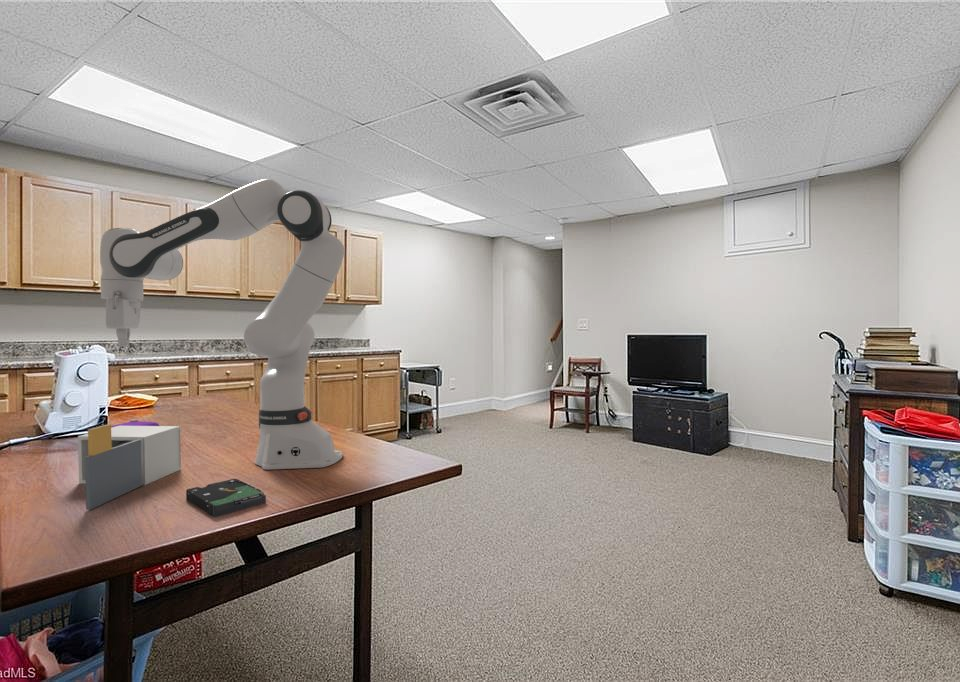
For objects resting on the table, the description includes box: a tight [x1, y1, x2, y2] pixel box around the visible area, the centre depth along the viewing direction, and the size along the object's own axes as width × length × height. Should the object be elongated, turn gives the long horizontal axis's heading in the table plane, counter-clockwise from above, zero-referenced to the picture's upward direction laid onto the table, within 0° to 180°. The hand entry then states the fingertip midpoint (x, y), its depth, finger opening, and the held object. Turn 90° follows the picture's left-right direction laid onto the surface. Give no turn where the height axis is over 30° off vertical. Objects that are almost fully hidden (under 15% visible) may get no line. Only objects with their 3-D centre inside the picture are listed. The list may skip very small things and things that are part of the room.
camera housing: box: [77, 425, 182, 486], centre depth 118 cm, size 16×13×11 cm
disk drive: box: [185, 478, 267, 518], centre depth 101 cm, size 10×3×15 cm
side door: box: [85, 423, 145, 511], centre depth 103 cm, size 15×1×16 cm, turn 0°
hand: (123, 346), depth 125 cm, fingers closed
